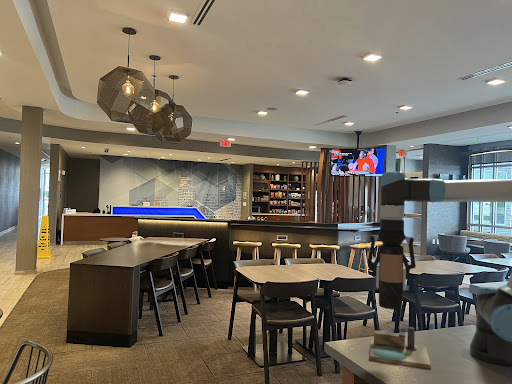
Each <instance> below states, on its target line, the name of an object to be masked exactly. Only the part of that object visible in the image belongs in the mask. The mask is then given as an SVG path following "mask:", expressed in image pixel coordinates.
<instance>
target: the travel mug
mask: <svg viewBox="0 0 512 384" xmlns="http://www.w3.org/2000/svg"><path fill="white" fill-rule="evenodd" d="M379 251H380V260H379V263H378V267H379V288H378V306H379V307H380V308H382V309H388V310H401V309H402V307H403V291H404V290H403V269H404V263H403V252H404V246H402V245H401V247H385V246H382V244H381V245H379Z"/></svg>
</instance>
